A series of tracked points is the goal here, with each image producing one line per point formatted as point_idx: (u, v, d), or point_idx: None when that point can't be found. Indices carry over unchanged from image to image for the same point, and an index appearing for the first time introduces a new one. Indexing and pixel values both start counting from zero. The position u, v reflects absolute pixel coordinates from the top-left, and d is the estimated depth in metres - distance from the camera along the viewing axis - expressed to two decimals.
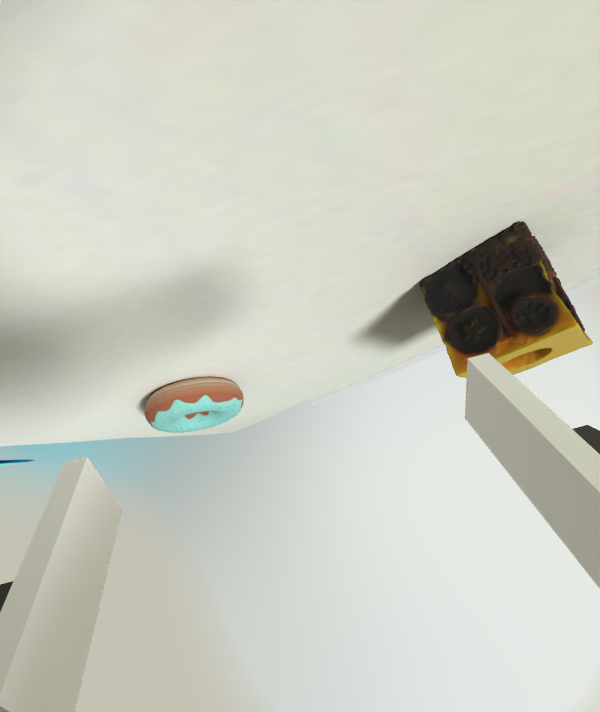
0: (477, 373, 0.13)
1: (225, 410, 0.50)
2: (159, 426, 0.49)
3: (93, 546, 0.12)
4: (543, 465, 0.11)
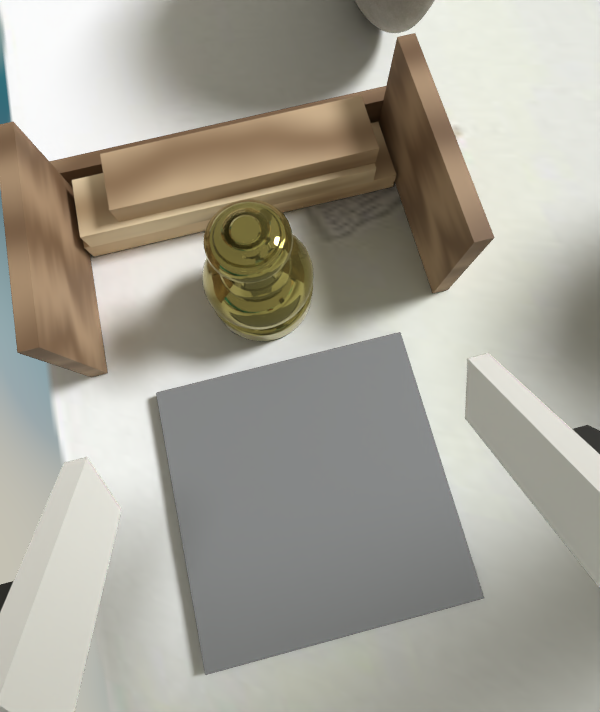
0: (476, 372, 0.13)
1: None
2: None
3: (93, 546, 0.12)
4: (543, 464, 0.11)
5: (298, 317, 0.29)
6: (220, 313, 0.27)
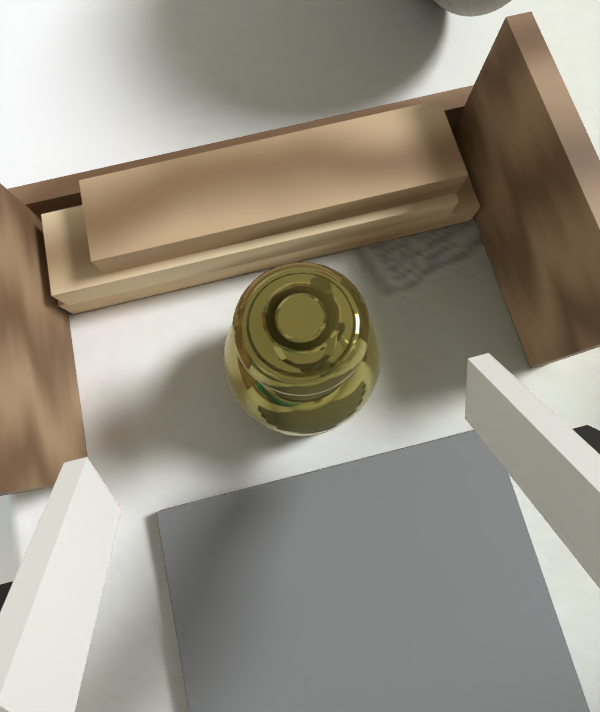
0: (477, 373, 0.13)
1: None
2: None
3: (93, 546, 0.12)
4: (543, 464, 0.11)
5: None
6: (249, 414, 0.19)
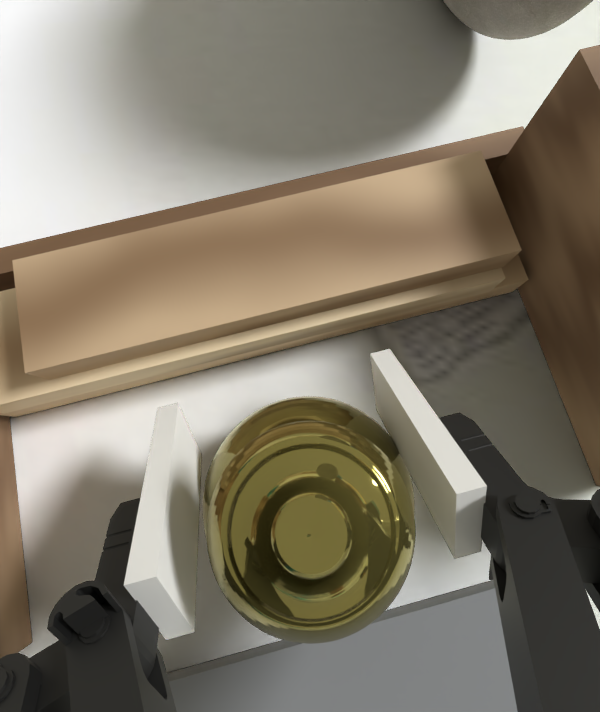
0: (375, 366, 0.15)
1: None
2: None
3: (190, 478, 0.14)
4: (415, 447, 0.12)
5: None
6: None
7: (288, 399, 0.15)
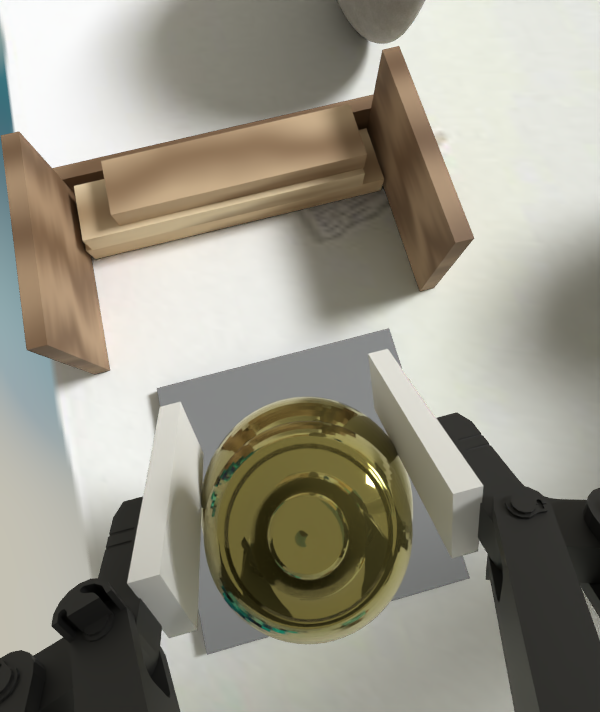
0: (373, 366, 0.15)
1: None
2: None
3: (192, 477, 0.14)
4: (412, 447, 0.12)
5: None
6: None
7: (286, 399, 0.15)
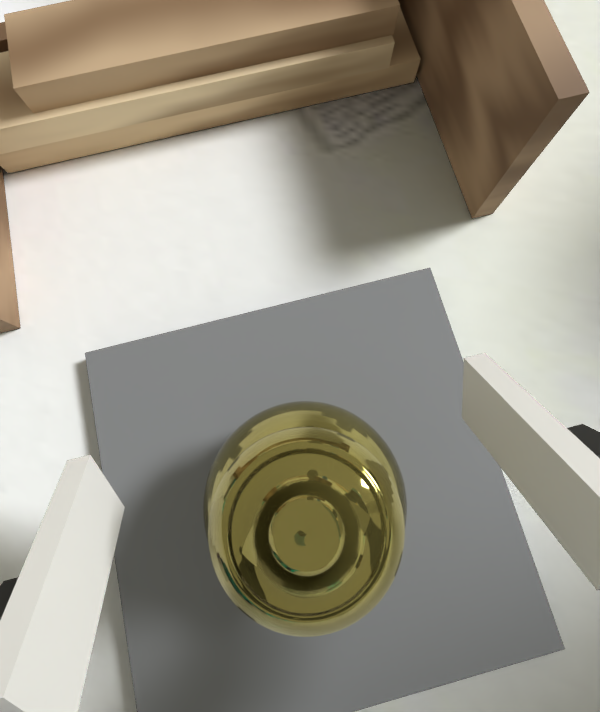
0: (473, 372, 0.14)
1: None
2: None
3: (96, 543, 0.12)
4: (538, 463, 0.11)
5: None
6: None
7: (287, 403, 0.16)
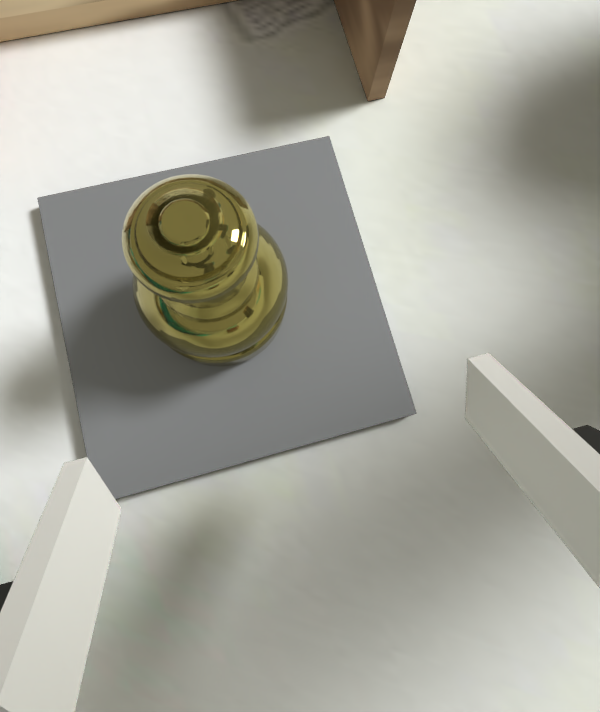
0: (476, 373, 0.13)
1: None
2: None
3: (93, 546, 0.12)
4: (543, 465, 0.11)
5: (268, 338, 0.22)
6: (157, 336, 0.19)
7: None
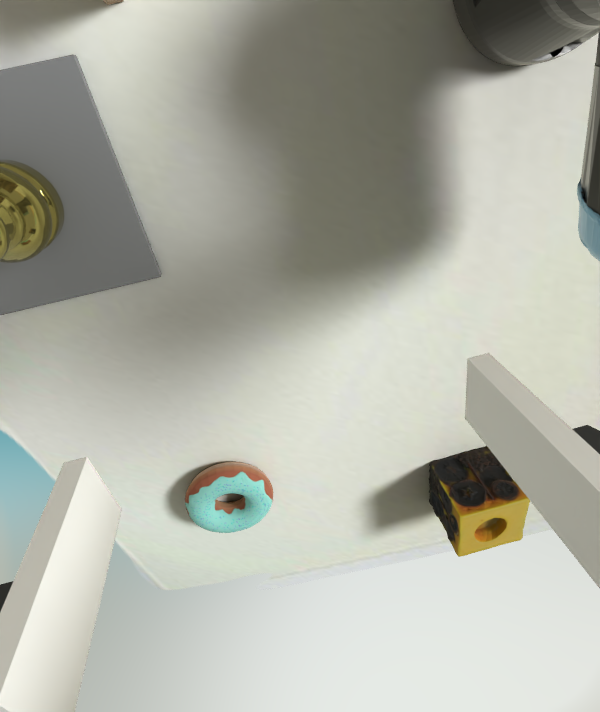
0: (477, 373, 0.13)
1: (260, 507, 0.56)
2: (204, 495, 0.53)
3: (93, 546, 0.12)
4: (543, 464, 0.11)
5: (50, 241, 0.35)
6: None
7: None
